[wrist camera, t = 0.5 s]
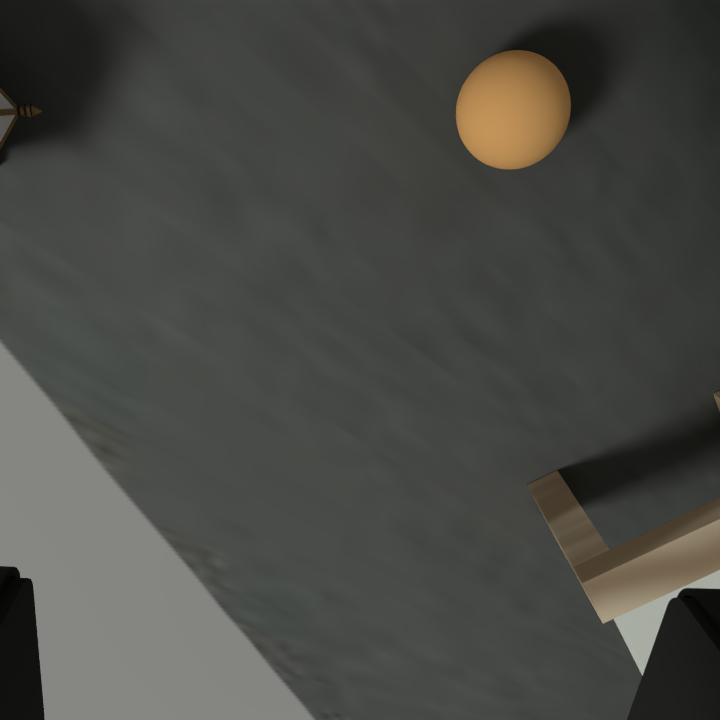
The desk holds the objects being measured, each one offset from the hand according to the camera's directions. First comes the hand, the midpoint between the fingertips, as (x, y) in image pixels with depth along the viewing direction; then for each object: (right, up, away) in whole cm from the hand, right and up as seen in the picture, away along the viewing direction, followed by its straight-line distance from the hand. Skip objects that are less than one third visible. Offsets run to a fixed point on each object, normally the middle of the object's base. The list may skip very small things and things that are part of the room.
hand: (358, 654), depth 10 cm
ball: (+7, +15, +21) cm, 27 cm away
